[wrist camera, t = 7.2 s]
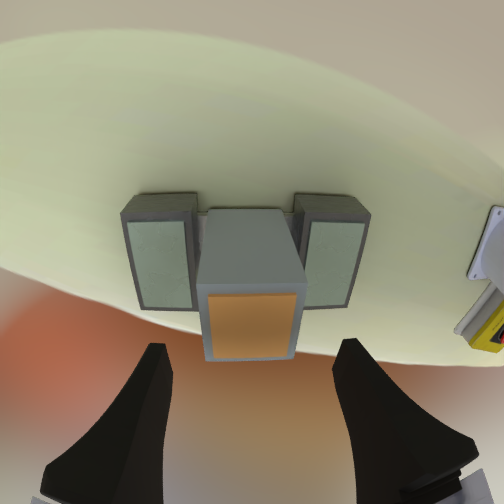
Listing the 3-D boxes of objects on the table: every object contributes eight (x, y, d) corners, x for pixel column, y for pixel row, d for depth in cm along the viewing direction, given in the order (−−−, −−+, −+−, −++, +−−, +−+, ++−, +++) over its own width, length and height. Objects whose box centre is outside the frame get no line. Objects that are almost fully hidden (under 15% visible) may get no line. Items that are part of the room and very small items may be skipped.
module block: (281, 209, 18) (309, 285, 12) (275, 274, 21) (294, 361, 14) (208, 209, 18) (195, 287, 11) (211, 275, 20) (205, 364, 14)
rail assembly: (358, 194, 18) (380, 216, 16) (340, 279, 22) (354, 309, 19) (130, 192, 17) (110, 215, 14) (144, 280, 21) (133, 311, 18)
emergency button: (503, 360, 28) (465, 354, 25) (490, 341, 32) (448, 329, 28) (541, 314, 24) (516, 292, 20) (526, 296, 28) (495, 269, 24)
